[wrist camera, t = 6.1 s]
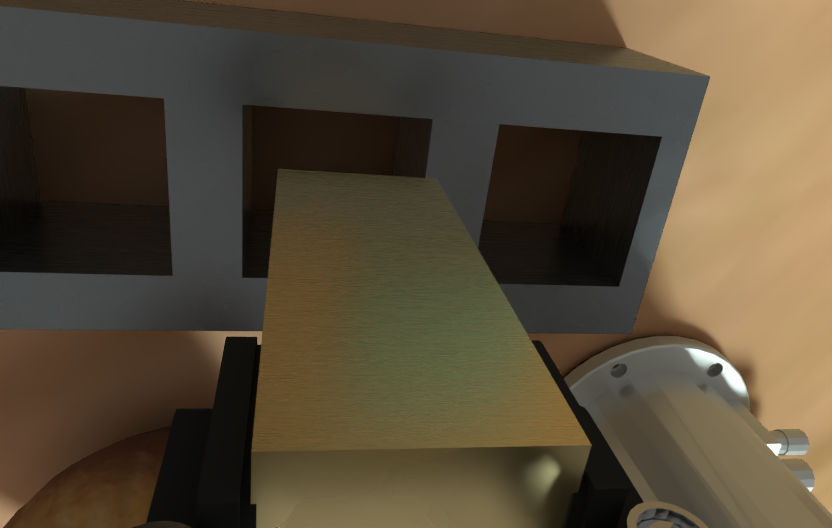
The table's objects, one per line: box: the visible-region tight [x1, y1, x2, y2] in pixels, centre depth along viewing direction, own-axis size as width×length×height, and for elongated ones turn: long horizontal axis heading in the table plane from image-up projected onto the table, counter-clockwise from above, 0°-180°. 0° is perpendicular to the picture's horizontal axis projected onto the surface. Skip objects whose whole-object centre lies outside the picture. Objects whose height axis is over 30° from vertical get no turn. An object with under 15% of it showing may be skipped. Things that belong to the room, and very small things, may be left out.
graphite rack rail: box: [0, 0, 710, 334], centre depth 24 cm, size 24×10×6 cm, turn 83°
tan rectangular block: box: [251, 169, 592, 528], centre depth 14 cm, size 4×4×11 cm
